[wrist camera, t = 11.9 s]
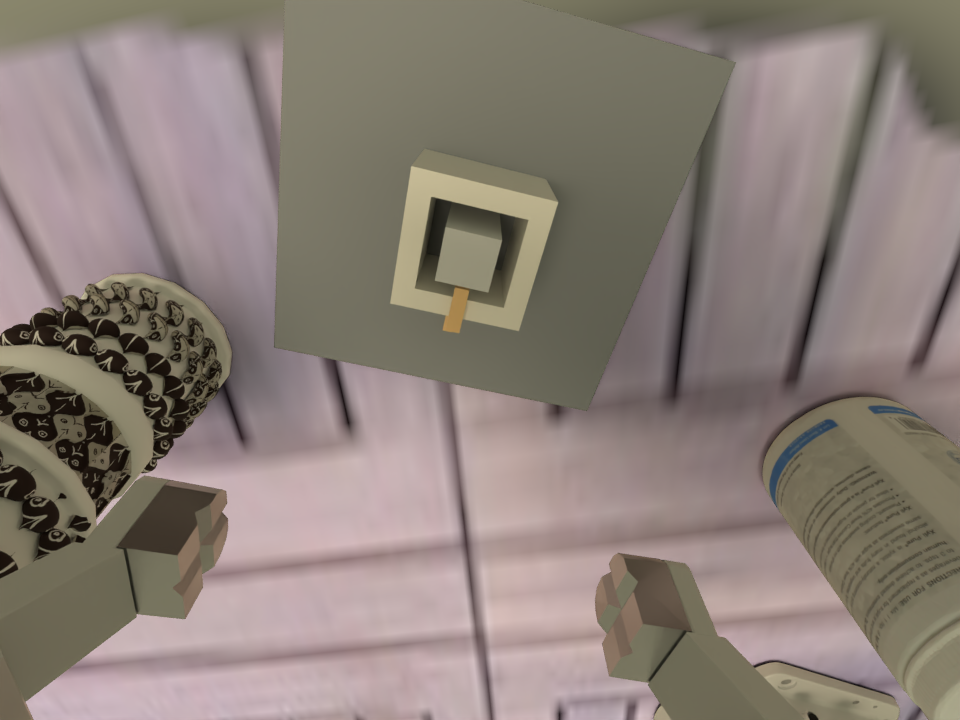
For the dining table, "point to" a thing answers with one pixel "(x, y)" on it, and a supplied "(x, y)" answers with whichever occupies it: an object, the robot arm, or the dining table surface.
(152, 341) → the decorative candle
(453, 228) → the grey square panel
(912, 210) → the dining table surface
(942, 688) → the supplement tub
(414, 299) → the cream open box
